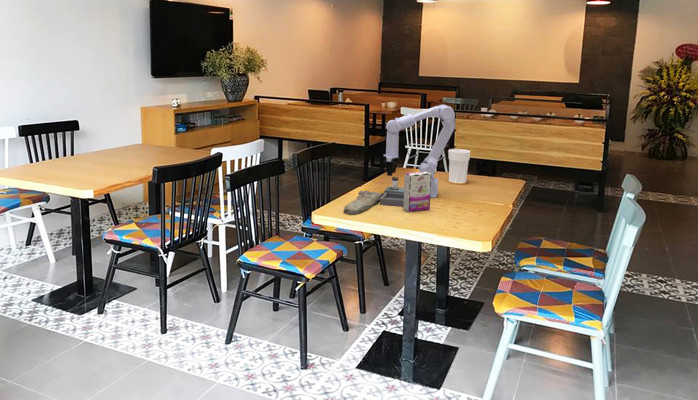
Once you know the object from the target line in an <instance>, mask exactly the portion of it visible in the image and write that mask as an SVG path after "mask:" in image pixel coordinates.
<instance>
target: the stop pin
mask: <svg viewBox="0 0 698 400" xmlns="http://www.w3.org/2000/svg"><path fill="white" fill-rule="evenodd" d="M391 187H392V189H391V190H398V187H399V176H391Z"/></svg>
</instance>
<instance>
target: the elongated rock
mask: <svg viewBox="0 0 698 400" xmlns="http://www.w3.org/2000/svg"><path fill="white" fill-rule="evenodd" d="M380 198H381V193H380V192H376V191H369V190H359V191H358V196H356V199H354V200H351V202H349V203H348V204H346V205H345V206H344V209H343V213H345V215H349V216H356V215H358V214H360V213H362V211H363V212H364V211H367V210H369V209H371V208H372V207H373V206H374V205H376V204H377V203H378V202H380ZM368 208H369V209H368Z"/></svg>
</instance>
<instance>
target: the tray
mask: <svg viewBox="0 0 698 400" xmlns="http://www.w3.org/2000/svg"><path fill="white" fill-rule="evenodd" d="M384 193H385V192H384ZM379 205H382V206H391V207H401V208H403V207H404V194H399V193H387V192H386V193H385V194H384V195H383V196H382V197H381V198H380V200H379Z"/></svg>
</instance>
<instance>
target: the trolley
mask: <svg viewBox="0 0 698 400" xmlns="http://www.w3.org/2000/svg"><path fill="white" fill-rule="evenodd" d="M391 189H392V186H386V188H384V193H380V194H381V197H382V196H383V195H384V194H385V193H386V192H387V193H399V194H404V187H399V186H398V190H391Z"/></svg>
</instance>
